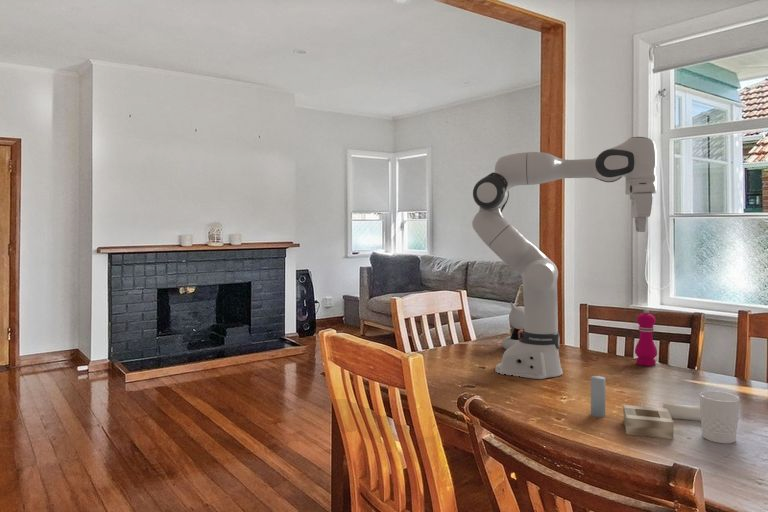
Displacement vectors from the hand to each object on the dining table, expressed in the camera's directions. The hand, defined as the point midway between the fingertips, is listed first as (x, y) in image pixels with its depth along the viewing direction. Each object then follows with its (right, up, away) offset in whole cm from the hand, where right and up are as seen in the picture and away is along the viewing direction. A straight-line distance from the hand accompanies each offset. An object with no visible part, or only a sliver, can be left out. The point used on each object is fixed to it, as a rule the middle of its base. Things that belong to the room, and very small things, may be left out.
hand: (640, 231), depth 171 cm
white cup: (-4, -51, -46) cm, 68 cm away
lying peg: (-4, -50, -33) cm, 60 cm away
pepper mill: (+12, -47, +22) cm, 53 cm away
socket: (-17, -50, -40) cm, 66 cm away
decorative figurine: (-26, -46, +47) cm, 71 cm away
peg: (-25, -50, -29) cm, 63 cm away
